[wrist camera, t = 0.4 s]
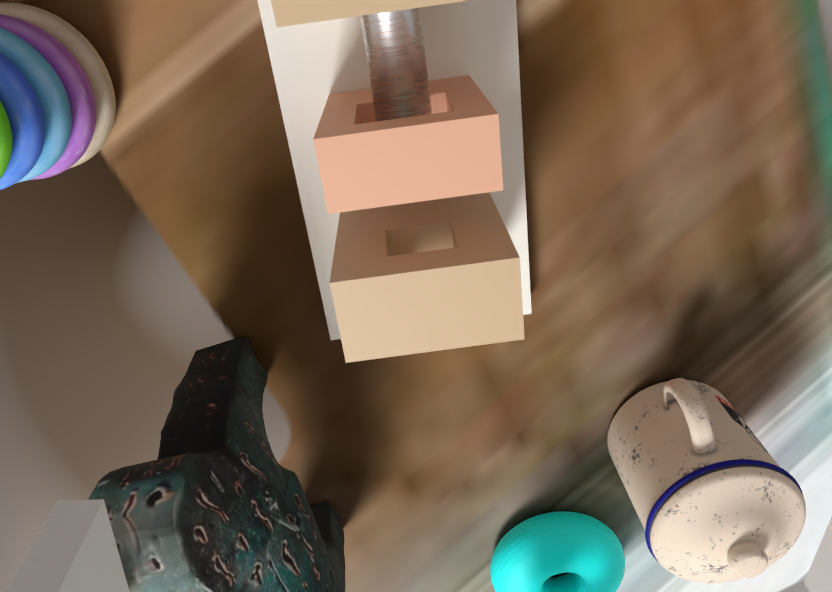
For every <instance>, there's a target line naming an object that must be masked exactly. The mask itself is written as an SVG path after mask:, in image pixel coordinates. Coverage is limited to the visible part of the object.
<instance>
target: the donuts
mask: <svg viewBox="0 0 832 592" xmlns="http://www.w3.org/2000/svg"><path fill="white" fill-rule="evenodd" d="M624 570H625V556H624V551H623V548H622V545H621V543H620V541H619V539H618V538H617V536H616V535H615V534H614V532H613V531H612V530H611V529H610V528H609V527H608V526H606V525H605V524H604V523H602V522H601V521H599V520H597V519H595V518H593V517H591V516H588V515H585V514H581V513H577V512H566V511H558V512H549V513H544V514H540V515H537V516H534V517H531V518H529V519H527V520H525V521H523V522H521V523H520V524H518V525H516V526H515V527H513V528H512V529H511V530H510V531H509V532H507V533H506V534H505V535H504V537H503V538H502V539H501V540H500V542H499V543H498V545H497V547H496V549H495V551H494V553H493V556H492V560H491V567H490V573H491V580H492V584H493V586H494V589H495V591H496V592H616V591H617V589H618V587H619V585H620V583H621V581H622V578H623V575H624ZM566 572H570V573H568V574H566V575H563V576H560V577H553V578H550V577H551V576H553V575H556V574H559V573H566Z"/></svg>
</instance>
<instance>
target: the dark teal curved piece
mask: <svg viewBox="0 0 832 592" xmlns="http://www.w3.org/2000/svg"><path fill="white" fill-rule="evenodd" d="M266 383H267V372H266V370H265V369H264V368H263V366H262V365H261V364H260V363H259V361H258V360H257V358H256V356H255V354H254V352H253V350H252V347H251V345H250V342H249V340H248V338H247V337H241V338H237V339H233V340H230V341H226V342H223V343H220V344H217V345H214V346H210V347H207V348H204V349H201V350H197V351H196V352H195V354H194V357H193V358H192V361H191V363H190V365H189V368H188V370H187V372H186V374H185V376H184V378H183V379H182V381H181V383H180V384H179V385H178V386H177V388H176V389H175V391H174V396H173V404H172V407H171V410H170V412H169V414H168V416H167V419H166V422H165V425H164V428H163V429H162V431H161V441H160V449H159V455H158V459H157V460H154V461H150V462H145V463H141V464H136V465H132V466H127V467H123V468H120V469H117V470H114V471H111V472H109V473H108V474H106V475H105V476H104V477H103V478H102V479H100V480H99V482H98V483H97V485H96V487H95V489H94V490H93V492H92V494H91V496H90V497H89V499H88V500H98V499H104V502H105V506H106V509H107V513H108V516H109V520H110V523H111V527H112V531H113V534H114V538H115V541H116V545H117V549H118V552H119V556H120V559H121V563H122V566H123V570H124V574H125V577H126V581H127V584H128V588H129V591H130V592H345V559H344V530H343V528H342V526H341V523H340V519H339V516H338V514H337V512H336V511H335V509H334V507H333V506H332V505H331V504H330V503H329V502H328V501H327V502H322V503H320V504H318V505H314V506H309V503H308V501H307V498H306V495H305V493H304V491H303V488H302V486H301V484H300V482H299V479H298V477H297V475H296V474H295V473H294V472H293V471H290V470H287V469H285V468H283V467H282V466H281V465H279V464H278V462H277V461H276V459H275V457H274V455H273V453H272V450H271V447H270V444H269V442H268V439H267V435H266V431H265V426H264V420H263V413H262V401H263V392H264V388H265V386H266Z"/></svg>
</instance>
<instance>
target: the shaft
mask: <svg viewBox="0 0 832 592" xmlns="http://www.w3.org/2000/svg"><path fill="white" fill-rule="evenodd" d="M360 19H361V26H362V32H363V39H364V46H365V52H366V59H367V65H368V72H369V79H370V85H371V92H372V98H373V105H374V112H375V118H376V122H377V121H385V120H392V119H399V118H407V117H414V116H421V115H428V114H432V109H431V100H430V91H429V83H428V74H427V65H426V56H425V47H424V38H423V29H422V20H421V11H420V8H413V9H406V10H398V11H391V12H384V13H377V14H370V15H363V16H360Z"/></svg>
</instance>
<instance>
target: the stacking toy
mask: <svg viewBox="0 0 832 592" xmlns="http://www.w3.org/2000/svg"><path fill="white" fill-rule="evenodd" d="M115 111H116V100H115V93H114V88H113V85H112V81H111V78H110V75H109V73H108V70H107V68H106V66H105V64H104V62H103V60H102V59H101V57H100V56H99V54H98V53H97V51H96V50H95V48H94V47H93V46H92V45H91V43H90V42H89V41H88V40H87V39H86V38H85V37H84V36H83V35H82V34H81V33H80V32H79V31H78V30H77V29H76V28H74V27H73V26H72V25H70V24H69V23H68V22H66V21H65V20H63V19H62V18H60V17H58V16H56V15H54V14H52V13H50V12H48V11H46V10H43V9H40V8H37V7H34V6H30V5H26V4H20V3H8V2H4V3H0V190H1V189H4V188H6V187H9V186H11V185H13V184H15V183H17V182H22V181H26V180H31V179H41V178H47V177H50V176H54V175H56V174H59V173H61V172H63V171H65V170H67V169H68V168H72V167H75V166H77V165H79V164H81V163H83V162H85V161H87V160H88V159H90V158H91V157H92V156H94V155H95V154H96V153H97V152H98V151H99V150H100V149H101V148H102V146H103V145H104V144H105V142H106V140H107V139H108V137H109V135H110V132H111V130H112V127H113V123H114V119H115Z"/></svg>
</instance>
